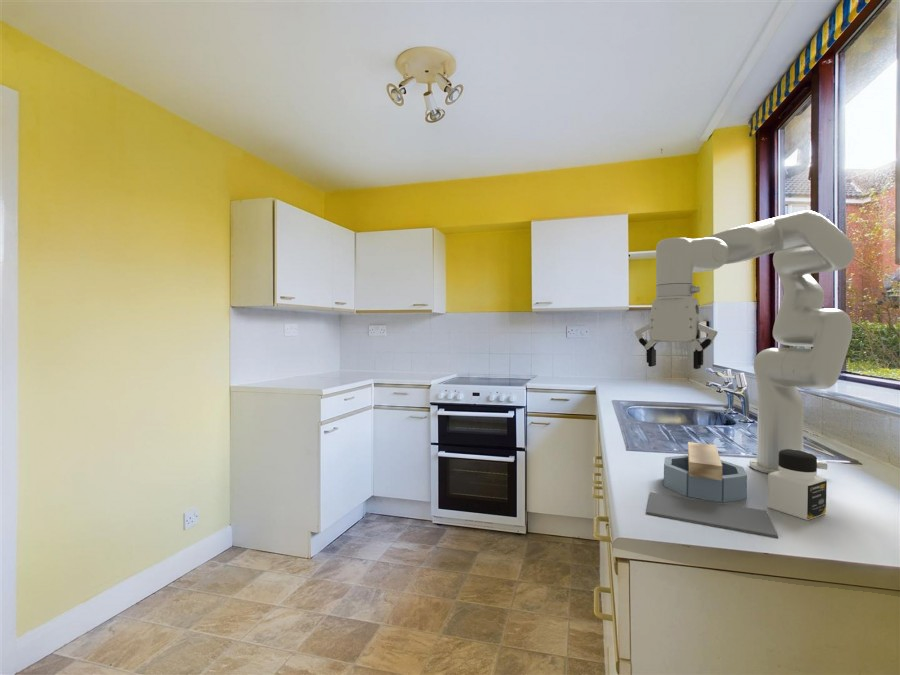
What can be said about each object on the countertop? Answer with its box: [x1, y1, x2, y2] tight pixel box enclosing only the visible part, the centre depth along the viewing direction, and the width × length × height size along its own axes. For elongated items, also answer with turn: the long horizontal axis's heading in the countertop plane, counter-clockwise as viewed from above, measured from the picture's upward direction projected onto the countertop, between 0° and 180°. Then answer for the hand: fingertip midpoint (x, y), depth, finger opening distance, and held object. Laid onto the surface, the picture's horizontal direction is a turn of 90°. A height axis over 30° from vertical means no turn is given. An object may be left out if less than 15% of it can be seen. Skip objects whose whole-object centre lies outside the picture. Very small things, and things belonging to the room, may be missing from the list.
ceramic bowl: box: [663, 454, 748, 503], centre depth 101 cm, size 16×16×5 cm
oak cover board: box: [687, 441, 722, 480], centre depth 101 cm, size 6×19×3 cm, turn 152°
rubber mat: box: [646, 491, 779, 539], centre depth 87 cm, size 21×12×1 cm, turn 62°
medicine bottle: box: [767, 449, 828, 521], centre depth 88 cm, size 7×7×12 cm
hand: (673, 367), depth 102 cm, fingers open, 9 cm apart
